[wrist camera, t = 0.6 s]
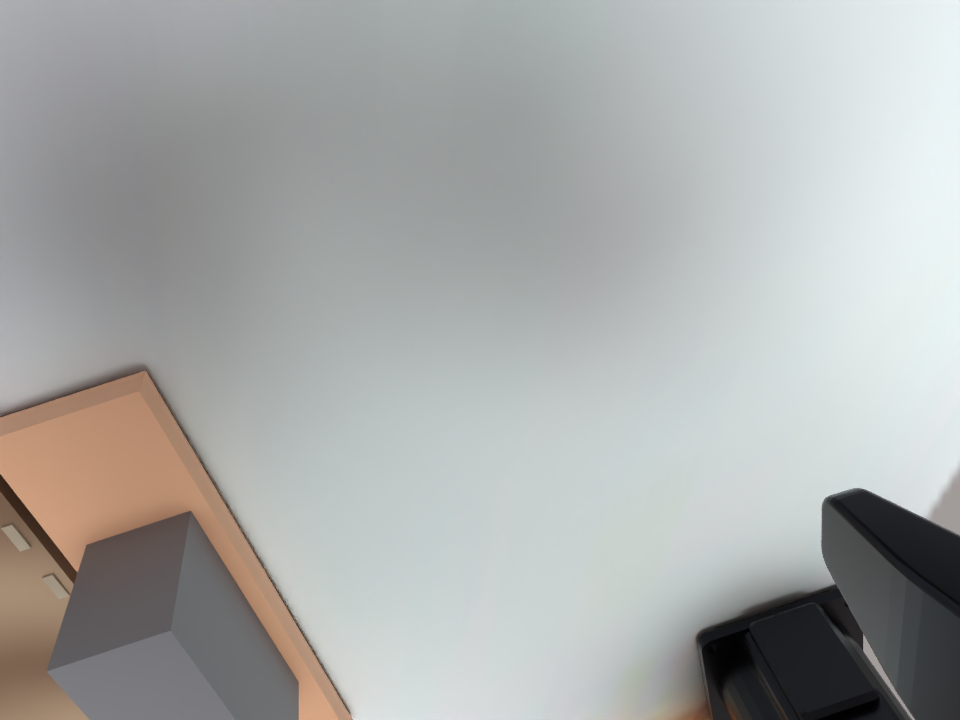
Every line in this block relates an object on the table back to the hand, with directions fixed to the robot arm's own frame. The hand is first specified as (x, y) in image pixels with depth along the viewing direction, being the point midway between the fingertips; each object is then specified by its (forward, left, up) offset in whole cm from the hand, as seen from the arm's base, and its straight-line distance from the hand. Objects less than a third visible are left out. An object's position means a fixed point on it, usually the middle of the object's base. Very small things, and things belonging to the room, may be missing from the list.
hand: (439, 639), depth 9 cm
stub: (-10, +9, -13) cm, 19 cm away
